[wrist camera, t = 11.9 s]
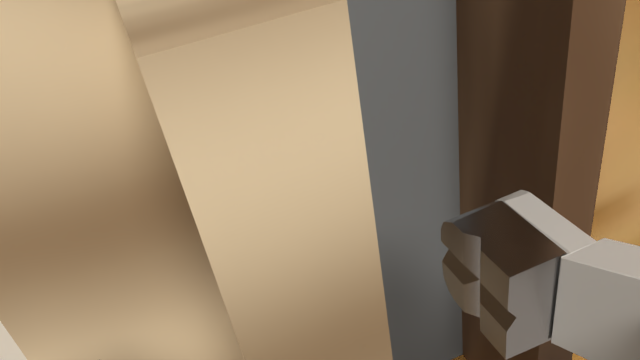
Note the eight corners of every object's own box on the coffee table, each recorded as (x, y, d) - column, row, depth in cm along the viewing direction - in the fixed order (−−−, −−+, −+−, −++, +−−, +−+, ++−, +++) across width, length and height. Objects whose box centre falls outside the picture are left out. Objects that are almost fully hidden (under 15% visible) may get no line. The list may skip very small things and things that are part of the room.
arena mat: (497, -544, 9) (522, -566, 8) (484, 333, 21) (494, 344, 20) (-797, -486, 6) (-879, -517, 5) (69, 524, 17) (69, 544, 17)
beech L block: (304, 308, 16) (412, 511, 11) (86, 398, 14) (101, 676, 10) (209, -76, 10) (346, -2, 5) (-163, 12, 9) (-432, 218, 4)
